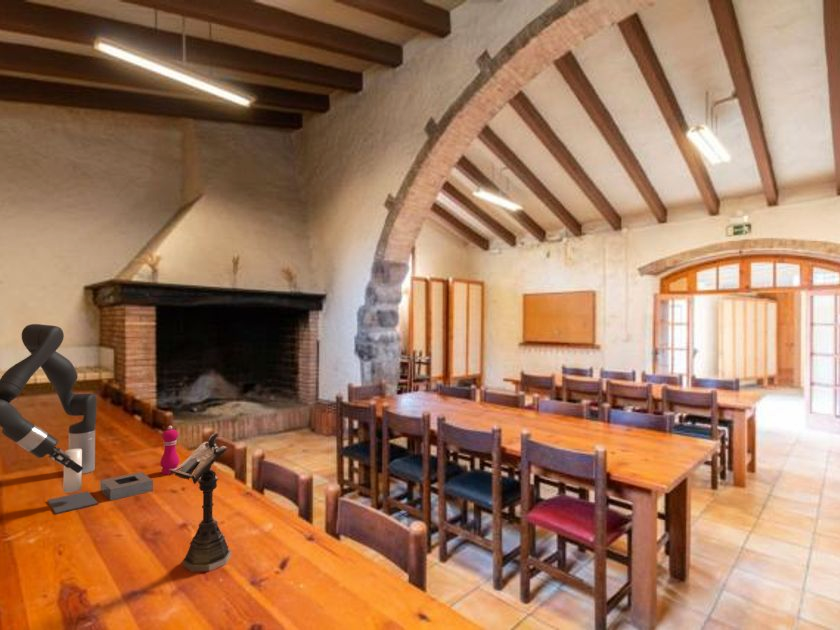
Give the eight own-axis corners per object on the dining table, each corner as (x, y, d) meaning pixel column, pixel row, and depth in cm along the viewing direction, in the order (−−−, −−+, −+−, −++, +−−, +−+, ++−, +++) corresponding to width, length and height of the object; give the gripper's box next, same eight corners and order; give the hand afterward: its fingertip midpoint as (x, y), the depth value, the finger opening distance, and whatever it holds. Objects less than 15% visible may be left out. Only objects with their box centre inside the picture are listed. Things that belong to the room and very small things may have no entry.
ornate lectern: (182, 587, 118) (183, 445, 118) (157, 570, 125) (158, 437, 126) (242, 560, 131) (243, 432, 131) (216, 546, 139) (217, 426, 139)
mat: (47, 501, 171) (47, 499, 171) (87, 492, 180) (87, 491, 180) (55, 514, 160) (55, 512, 160) (98, 504, 169) (98, 502, 169)
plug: (62, 490, 170) (62, 450, 170) (79, 486, 174) (80, 447, 174) (64, 493, 166) (65, 453, 167) (82, 490, 170) (83, 450, 170)
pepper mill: (171, 475, 199) (171, 428, 200) (156, 474, 201) (156, 427, 201) (183, 470, 207) (183, 424, 207) (168, 469, 208) (168, 423, 208)
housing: (100, 490, 182) (100, 480, 182) (141, 481, 192) (141, 471, 192) (110, 500, 173) (110, 489, 173) (152, 490, 183) (152, 480, 183)
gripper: (50, 435, 160) (92, 464, 168) (43, 428, 170) (83, 455, 178) (30, 454, 156) (74, 482, 165) (23, 446, 166) (65, 473, 175)
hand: (78, 468), depth 171 cm, fingers closed on plug, 5 cm apart
